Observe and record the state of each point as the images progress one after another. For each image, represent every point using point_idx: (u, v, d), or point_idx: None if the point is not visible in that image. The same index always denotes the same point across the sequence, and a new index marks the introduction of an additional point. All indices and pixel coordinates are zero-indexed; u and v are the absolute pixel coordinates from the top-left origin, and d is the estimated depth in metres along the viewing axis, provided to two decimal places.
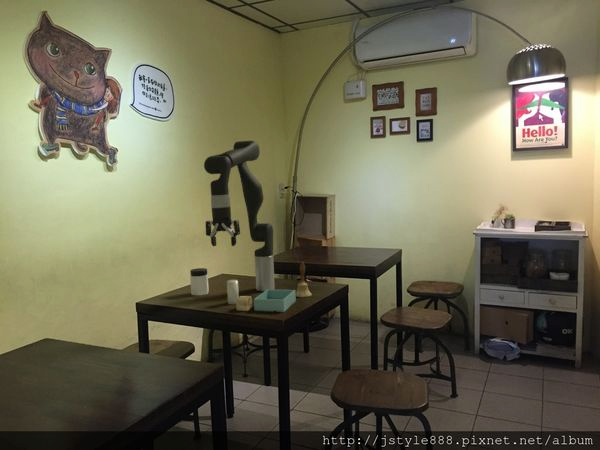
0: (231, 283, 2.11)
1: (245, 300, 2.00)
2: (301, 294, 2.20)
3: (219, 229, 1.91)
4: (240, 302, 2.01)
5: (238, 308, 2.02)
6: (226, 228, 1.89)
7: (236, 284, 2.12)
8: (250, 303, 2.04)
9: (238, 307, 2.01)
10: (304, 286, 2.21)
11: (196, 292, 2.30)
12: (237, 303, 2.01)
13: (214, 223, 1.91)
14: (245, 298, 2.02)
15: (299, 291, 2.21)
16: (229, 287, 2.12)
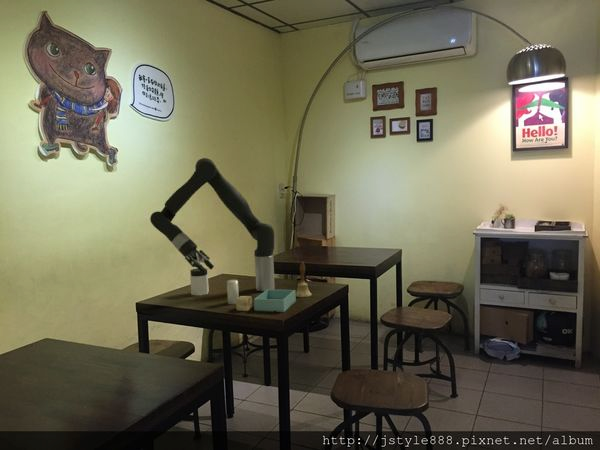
0: (231, 283, 2.11)
1: (245, 300, 2.00)
2: (302, 294, 2.20)
3: None
4: (240, 302, 2.01)
5: (238, 308, 2.02)
6: None
7: (236, 284, 2.12)
8: (250, 303, 2.04)
9: (238, 307, 2.01)
10: (304, 286, 2.21)
11: (196, 292, 2.30)
12: (237, 303, 2.01)
13: None
14: (245, 298, 2.02)
15: (299, 291, 2.21)
16: (229, 287, 2.12)
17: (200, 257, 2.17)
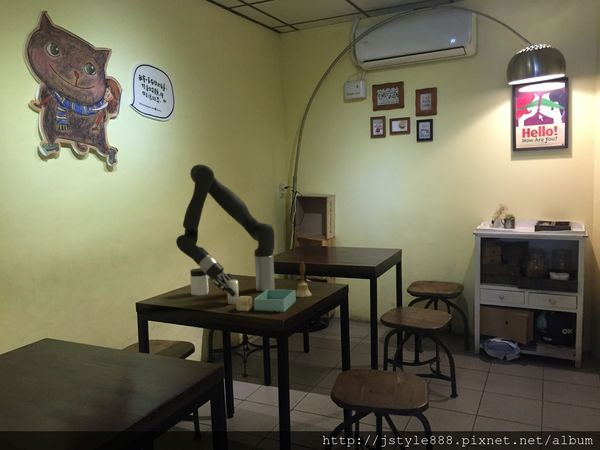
0: (231, 283, 2.11)
1: (245, 300, 2.00)
2: (301, 294, 2.20)
3: None
4: (240, 302, 2.01)
5: (238, 308, 2.02)
6: None
7: (236, 284, 2.12)
8: (250, 303, 2.04)
9: (238, 307, 2.02)
10: (304, 286, 2.21)
11: (196, 292, 2.30)
12: (237, 303, 2.01)
13: None
14: (245, 298, 2.02)
15: (299, 291, 2.21)
16: None
17: (226, 279, 2.14)
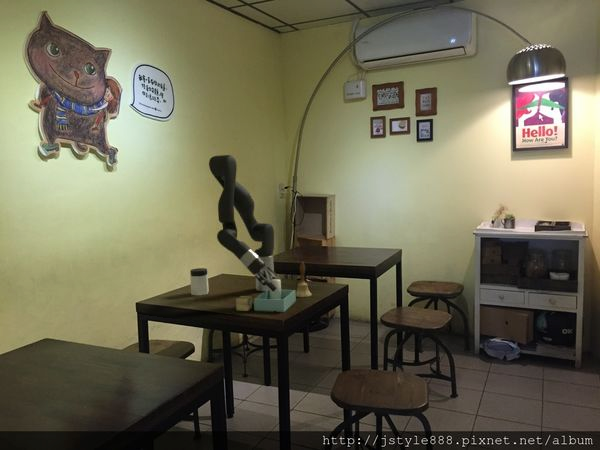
0: (274, 282, 2.07)
1: (245, 300, 2.00)
2: (302, 294, 2.20)
3: None
4: (240, 302, 2.01)
5: (238, 308, 2.02)
6: None
7: (279, 283, 2.08)
8: (250, 303, 2.04)
9: (238, 307, 2.02)
10: (304, 286, 2.21)
11: (196, 292, 2.30)
12: (237, 303, 2.01)
13: None
14: (245, 298, 2.02)
15: (299, 291, 2.21)
16: None
17: (269, 275, 2.10)
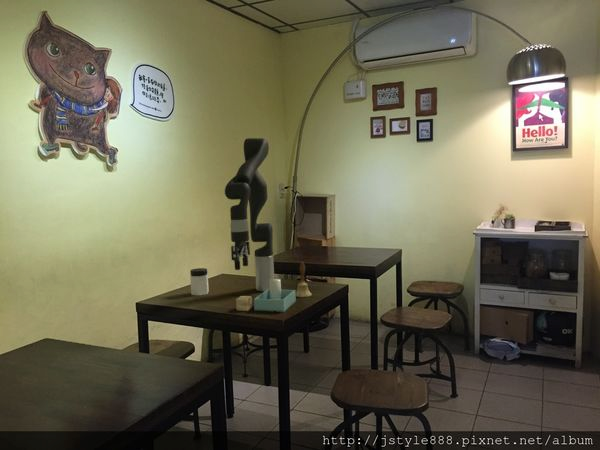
0: (274, 282, 2.07)
1: (245, 300, 2.00)
2: (302, 294, 2.20)
3: None
4: (240, 302, 2.01)
5: (238, 308, 2.02)
6: None
7: (279, 283, 2.08)
8: (250, 303, 2.04)
9: (238, 307, 2.02)
10: (304, 286, 2.21)
11: (196, 292, 2.30)
12: (237, 303, 2.01)
13: None
14: (245, 298, 2.02)
15: (299, 291, 2.21)
16: (272, 286, 2.08)
17: (243, 251, 2.01)
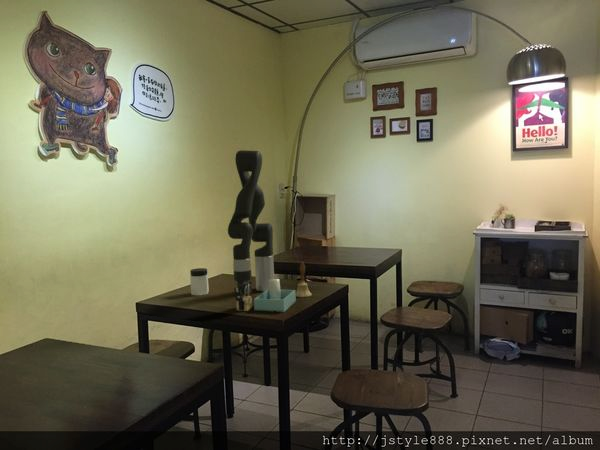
0: (272, 282, 2.07)
1: (245, 300, 2.00)
2: (302, 294, 2.20)
3: None
4: None
5: (238, 308, 2.02)
6: None
7: (278, 283, 2.08)
8: (250, 303, 2.04)
9: (238, 307, 2.01)
10: (304, 286, 2.21)
11: (196, 292, 2.30)
12: (237, 302, 2.01)
13: None
14: (245, 298, 2.02)
15: (299, 291, 2.21)
16: (271, 286, 2.07)
17: (245, 290, 2.02)
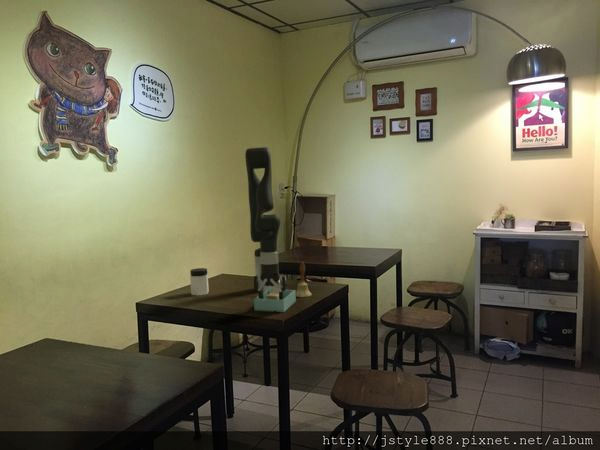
0: None
1: None
2: (301, 294, 2.20)
3: (267, 284, 1.99)
4: None
5: (277, 297, 2.01)
6: (274, 283, 1.98)
7: None
8: None
9: (278, 297, 2.02)
10: (304, 286, 2.21)
11: (196, 292, 2.30)
12: None
13: (262, 278, 2.00)
14: None
15: (299, 291, 2.21)
16: None
17: None
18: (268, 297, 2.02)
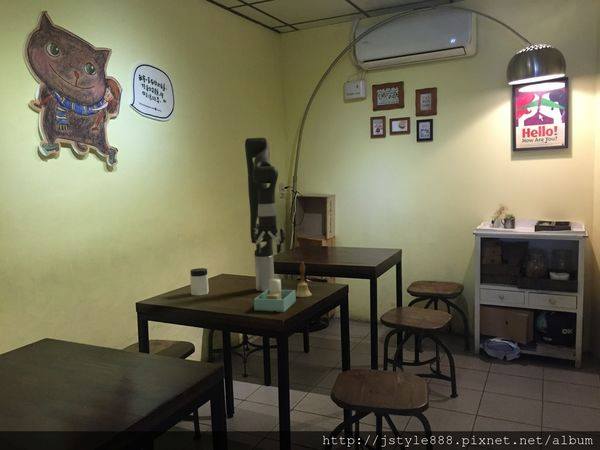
0: (271, 282, 2.07)
1: None
2: (302, 294, 2.20)
3: (265, 237, 1.97)
4: (280, 298, 2.04)
5: (277, 297, 2.01)
6: (272, 236, 1.96)
7: (276, 284, 2.06)
8: None
9: (278, 297, 2.02)
10: (304, 286, 2.21)
11: (196, 292, 2.30)
12: (279, 295, 2.03)
13: (260, 231, 1.98)
14: None
15: (299, 291, 2.21)
16: (270, 286, 2.08)
17: None
18: (268, 297, 2.02)
